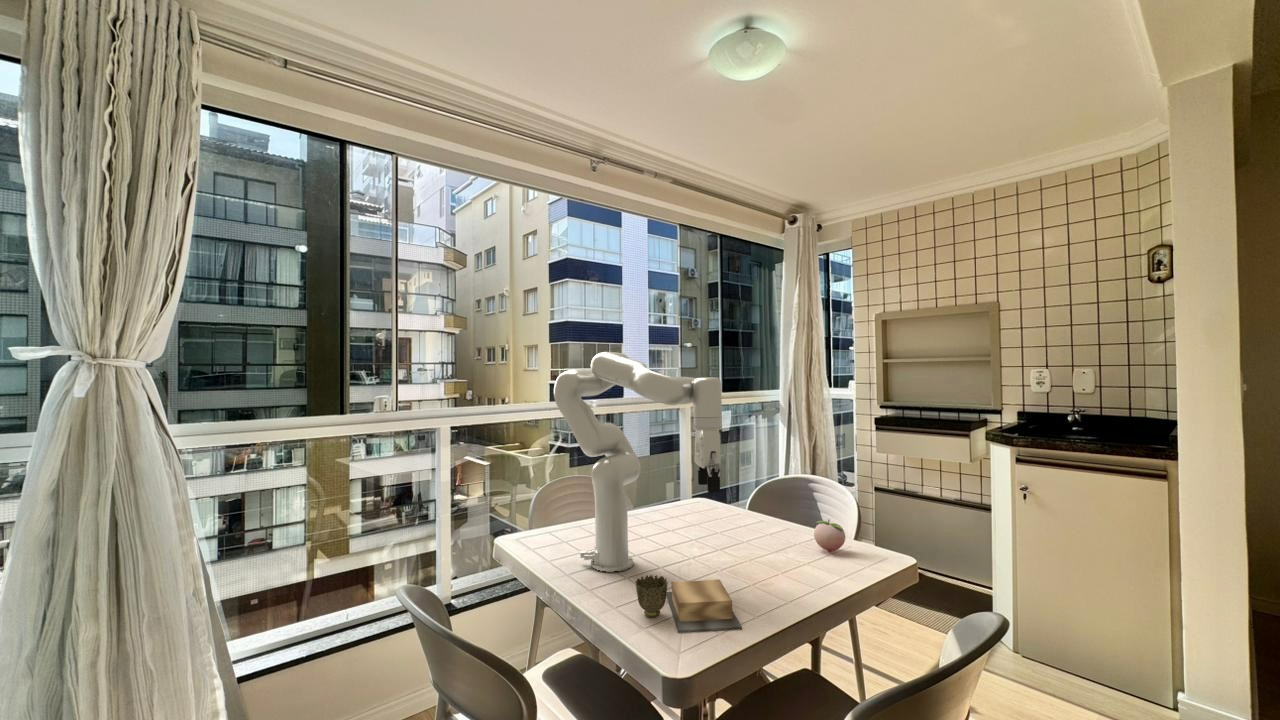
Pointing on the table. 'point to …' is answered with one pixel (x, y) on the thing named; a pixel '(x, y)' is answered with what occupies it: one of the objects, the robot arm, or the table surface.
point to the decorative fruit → (829, 535)
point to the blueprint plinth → (701, 606)
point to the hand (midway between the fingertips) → (708, 488)
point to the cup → (651, 594)
